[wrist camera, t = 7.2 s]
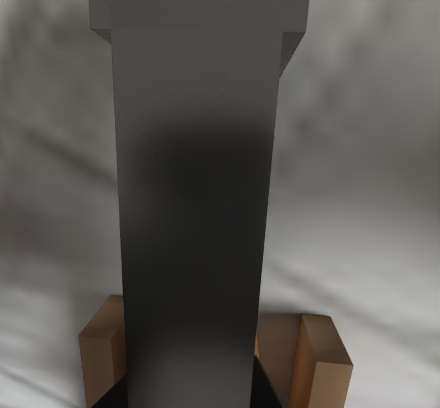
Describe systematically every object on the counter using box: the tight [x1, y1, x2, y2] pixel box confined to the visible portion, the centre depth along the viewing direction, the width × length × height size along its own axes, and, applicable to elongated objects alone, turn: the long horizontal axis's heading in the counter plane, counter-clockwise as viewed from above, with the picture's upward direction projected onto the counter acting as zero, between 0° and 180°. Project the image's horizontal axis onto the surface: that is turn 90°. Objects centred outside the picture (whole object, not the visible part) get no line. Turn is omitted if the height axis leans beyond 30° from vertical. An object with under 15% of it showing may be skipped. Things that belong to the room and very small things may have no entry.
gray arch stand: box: [89, 0, 309, 408], centre depth 9 cm, size 7×20×8 cm, turn 178°
